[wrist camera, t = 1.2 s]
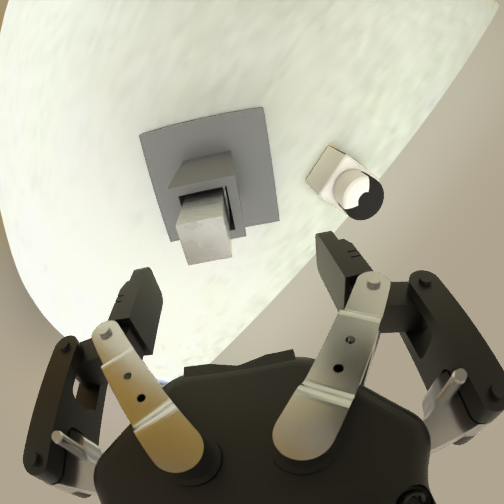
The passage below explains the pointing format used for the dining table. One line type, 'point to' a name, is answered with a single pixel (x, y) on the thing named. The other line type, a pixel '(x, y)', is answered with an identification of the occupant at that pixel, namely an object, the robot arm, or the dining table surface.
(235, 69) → the dining table surface
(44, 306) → the dining table surface
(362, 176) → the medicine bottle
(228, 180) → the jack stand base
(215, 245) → the steel column
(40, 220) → the dining table surface
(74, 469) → the robot arm
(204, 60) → the dining table surface
